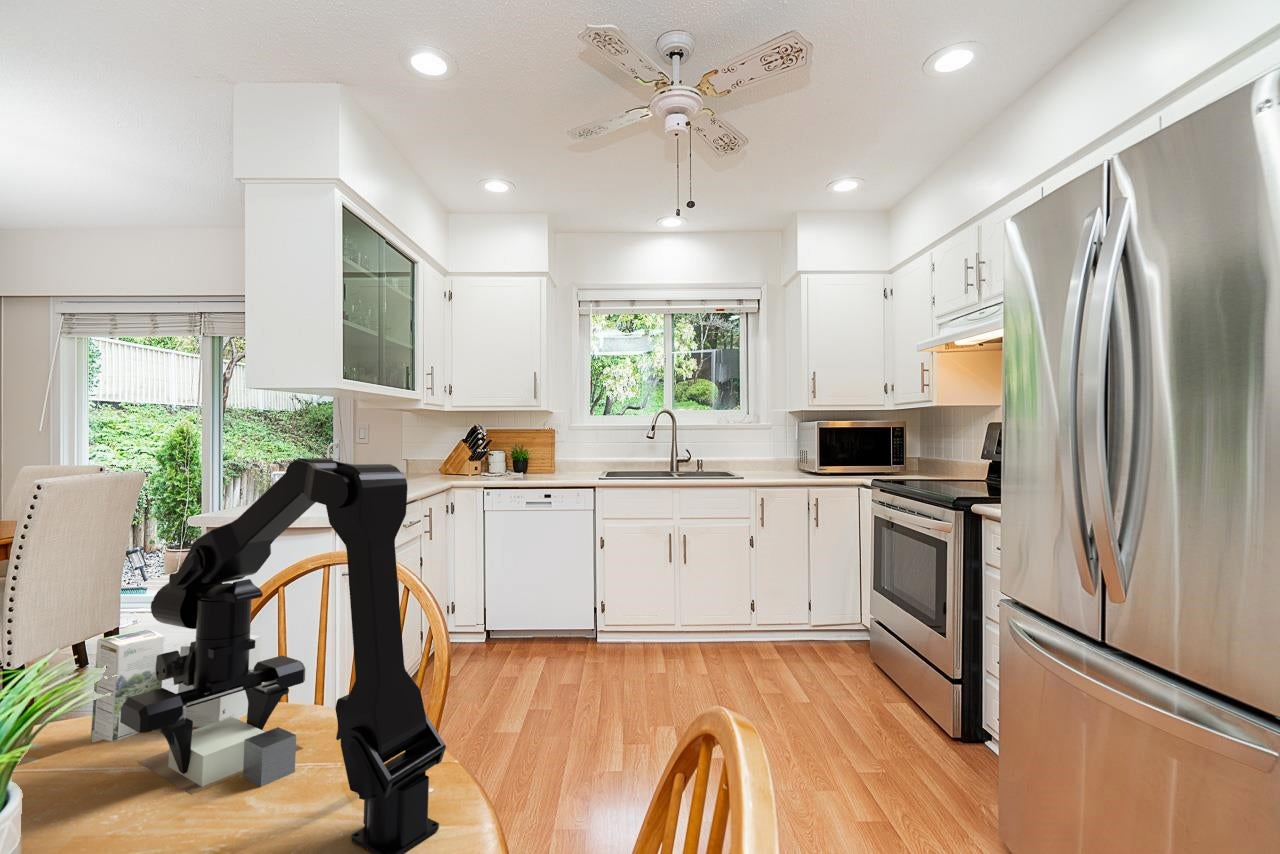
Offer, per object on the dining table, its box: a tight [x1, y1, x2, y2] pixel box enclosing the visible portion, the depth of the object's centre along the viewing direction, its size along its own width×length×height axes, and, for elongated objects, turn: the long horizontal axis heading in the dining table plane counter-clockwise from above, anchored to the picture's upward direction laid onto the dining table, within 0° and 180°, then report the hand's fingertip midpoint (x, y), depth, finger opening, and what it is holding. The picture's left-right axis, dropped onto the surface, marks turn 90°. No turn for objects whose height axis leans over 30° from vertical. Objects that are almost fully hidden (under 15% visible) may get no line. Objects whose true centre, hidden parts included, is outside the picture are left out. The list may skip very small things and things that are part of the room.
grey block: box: [242, 726, 297, 788], centre depth 74 cm, size 4×4×6 cm
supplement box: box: [177, 634, 262, 728], centre depth 90 cm, size 7×7×13 cm
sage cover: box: [168, 717, 266, 787], centre depth 76 cm, size 8×7×4 cm
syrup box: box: [90, 629, 166, 744], centre depth 86 cm, size 6×6×14 cm
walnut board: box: [137, 729, 304, 795], centre depth 79 cm, size 14×13×2 cm
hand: (218, 759), depth 76 cm, fingers closed on sage cover, 7 cm apart
